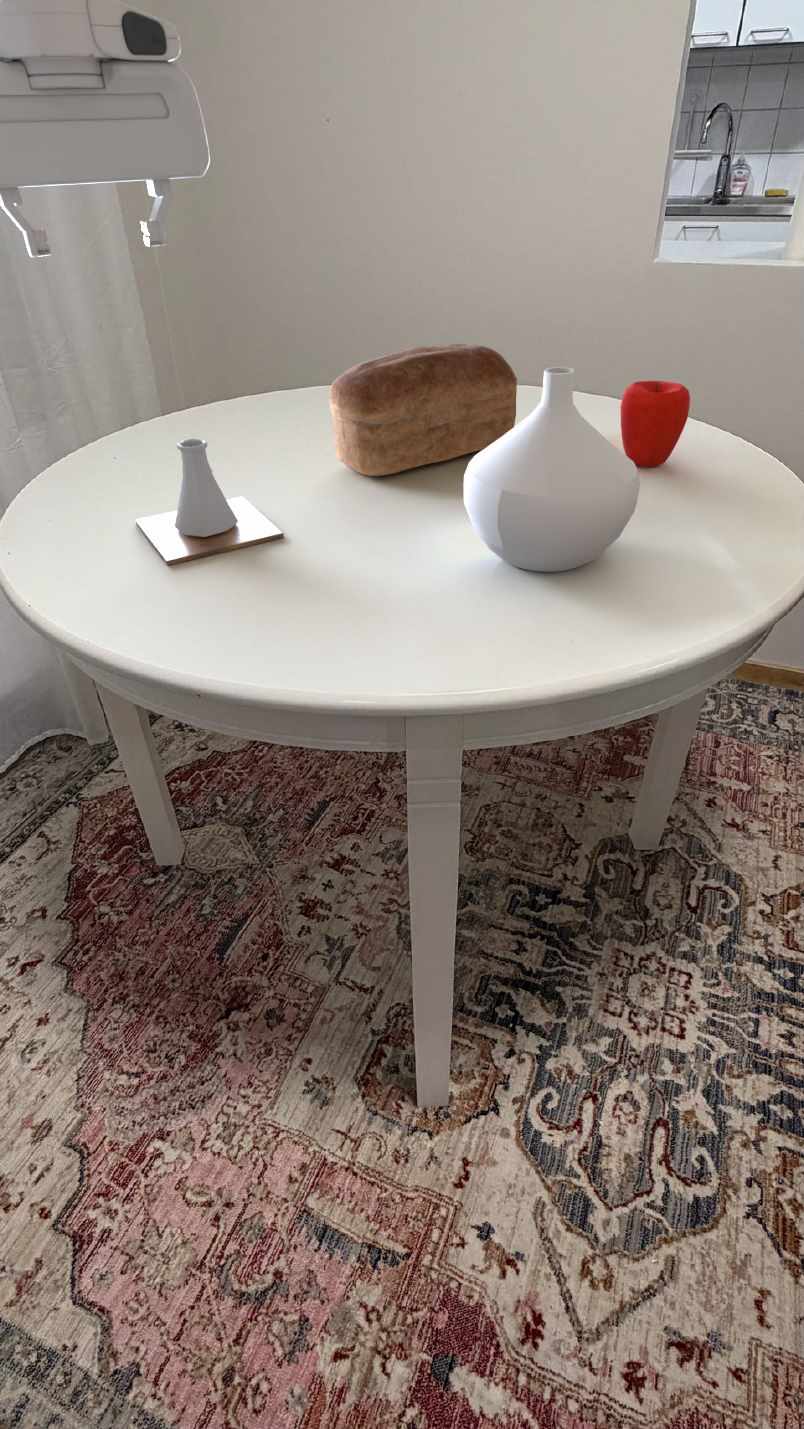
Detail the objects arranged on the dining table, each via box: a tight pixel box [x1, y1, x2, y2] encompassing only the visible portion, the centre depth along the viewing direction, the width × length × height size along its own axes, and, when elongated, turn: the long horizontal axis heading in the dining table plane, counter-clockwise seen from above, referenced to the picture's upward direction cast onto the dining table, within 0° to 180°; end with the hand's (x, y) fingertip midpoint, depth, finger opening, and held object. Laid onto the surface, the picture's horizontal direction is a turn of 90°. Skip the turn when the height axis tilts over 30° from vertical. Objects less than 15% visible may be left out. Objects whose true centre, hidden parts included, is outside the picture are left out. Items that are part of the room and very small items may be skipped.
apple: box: [620, 380, 691, 468], centre depth 108 cm, size 9×9×11 cm
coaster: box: [135, 496, 285, 566], centre depth 96 cm, size 14×14×1 cm
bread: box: [328, 343, 518, 477], centre depth 112 cm, size 12×28×14 cm, turn 124°
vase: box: [463, 366, 641, 573], centre depth 83 cm, size 18×18×19 cm
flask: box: [174, 438, 239, 537], centre depth 93 cm, size 7×7×10 cm
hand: (99, 250), depth 66 cm, fingers open, 8 cm apart
